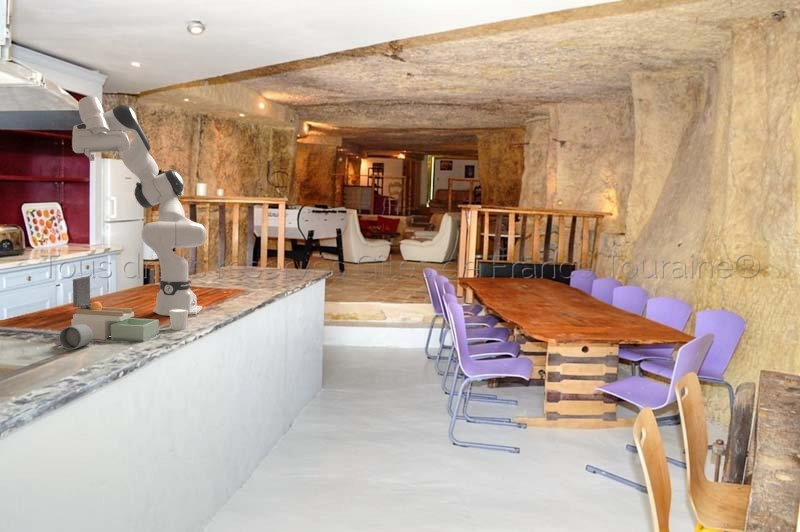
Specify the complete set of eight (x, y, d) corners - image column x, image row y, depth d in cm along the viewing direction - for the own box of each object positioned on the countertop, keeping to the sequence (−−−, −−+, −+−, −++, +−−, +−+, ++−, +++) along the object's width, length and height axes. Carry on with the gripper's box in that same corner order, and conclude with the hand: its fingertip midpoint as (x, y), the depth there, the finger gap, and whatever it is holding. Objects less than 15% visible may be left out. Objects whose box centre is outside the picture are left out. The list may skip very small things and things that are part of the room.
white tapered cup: (182, 330, 242) (182, 312, 242) (165, 329, 244) (165, 311, 243) (191, 327, 249) (191, 309, 248) (175, 325, 250) (175, 308, 250)
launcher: (90, 330, 237) (90, 305, 236) (135, 333, 235) (135, 307, 234) (71, 337, 225) (71, 310, 224) (118, 340, 223) (118, 313, 222)
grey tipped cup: (94, 344, 216) (94, 322, 215) (81, 350, 208) (80, 327, 207) (64, 343, 217) (63, 321, 216) (49, 349, 209) (48, 326, 208)
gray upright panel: (86, 309, 234) (85, 276, 232) (95, 309, 233) (95, 277, 232) (73, 313, 226) (72, 279, 224) (82, 313, 226) (82, 279, 224)
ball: (93, 311, 231) (93, 300, 231) (104, 312, 231) (104, 301, 231) (87, 313, 228) (87, 302, 227) (98, 314, 227) (98, 302, 227)
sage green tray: (127, 332, 235) (127, 318, 235) (158, 334, 234) (158, 319, 234) (111, 339, 224) (111, 324, 223) (143, 341, 223) (143, 326, 222)
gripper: (124, 135, 257) (133, 162, 253) (68, 137, 246) (76, 165, 241) (126, 124, 253) (135, 152, 248) (69, 126, 241) (77, 155, 236)
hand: (105, 159), depth 244 cm, fingers open, 8 cm apart
